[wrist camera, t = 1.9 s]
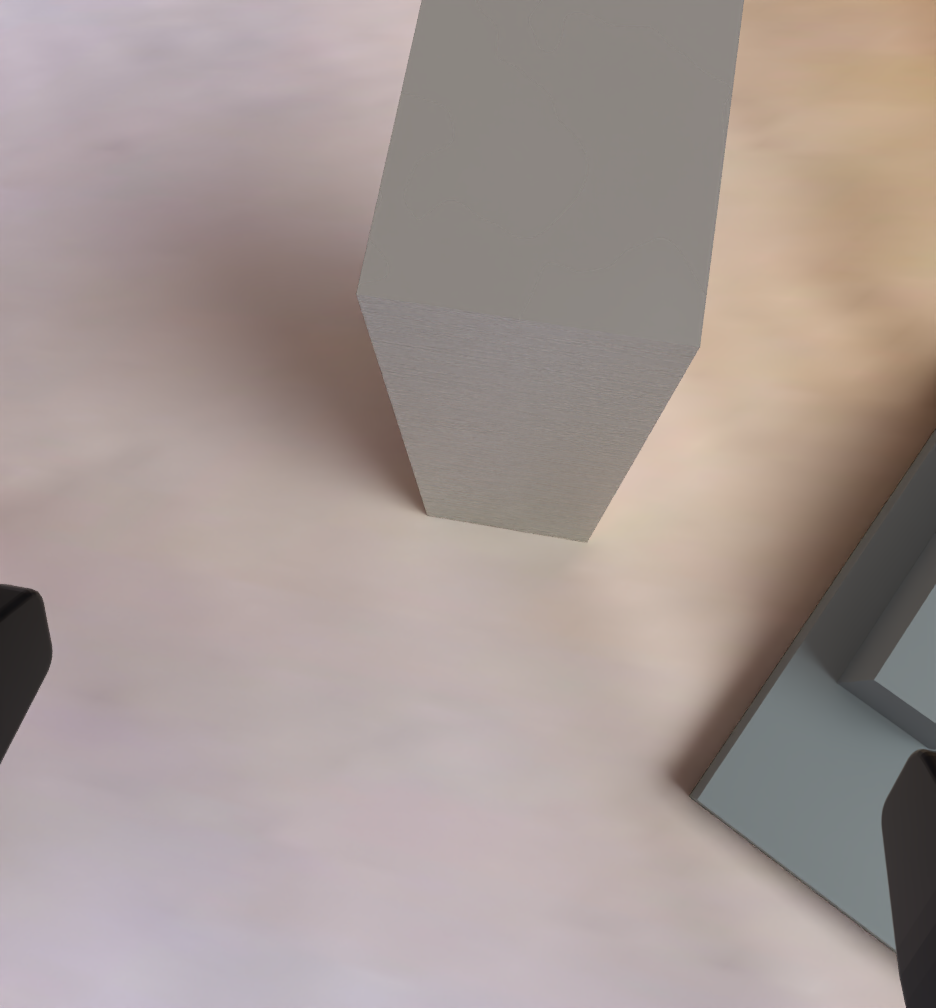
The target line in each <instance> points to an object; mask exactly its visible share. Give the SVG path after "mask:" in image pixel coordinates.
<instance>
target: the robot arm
mask: <svg viewBox="0 0 936 1008" xmlns="http://www.w3.org/2000/svg"><path fill="white" fill-rule="evenodd" d="M51 660H52V643H51V638H50V633H49V628H48V623H47V617H46V612H45V607H44V602H43V599H42V597H41V595H40V594H39V593H38V592H37V591H35V590H33V589H29V588H24V587H18V586H13V585H7V584H0V764H1V762H2V760H3V758H4V756H5V754H6V752H7V750H8V748H9V746H10V744H11V742H12V740H13V738H14V736H15V734H16V732H17V731H18V729H19V727H20V725H21V723H22V721H23V719H24V717H25V715H26V713H27V711H28V709H29V707H30V705H31V703H32V701H33V700H34V698H35V696H36V694H37V692H38V690H39V688H40V686H41V684H42V682H43V680H44V678H45V676H46V674H47V672H48V670H49V667H50V664H51ZM881 827H882V836H883V845H884V853H885V862H886V870H887V879H888V887H889V896H890V905H891V913H892V922H893V930H894V939H895V947H896V955H897V962H898V969H899V976H900V981H901V986H902V991H903V995H904V1000H905V1005H906V1008H936V751H933V750H927V749H919V750H916V751H914V752H913V753H912V754H911V755H910V756H909V758H908V759H907V761H906V763H905V765H904V767H903V769H902V770H901V772H900V774H899V776H898V778H897V780H896V781H895V783H894V785H893V787H892V789H891V791H890V793H889V794H888V796H887V798H886V800H885V803H884V806H883V809H882V816H881Z"/></svg>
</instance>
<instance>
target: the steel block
mask: <svg viewBox="0 0 936 1008" xmlns="http://www.w3.org/2000/svg"><path fill="white" fill-rule="evenodd" d="M743 4H744V0H422V2H421V6H420V10H419V15H418V19H417V24H416V28H415V33H414V37H413V42H412V46H411V51H410V55H409V60H408V64H407V69H406V73H405V78H404V82H403V87H402V91H401V96H400V100H399V105H398V109H397V114H396V118H395V122H394V127H393V131H392V136H391V140H390V145H389V149H388V154H387V158H386V163H385V167H384V172H383V176H382V181H381V185H380V190H379V194H378V199H377V203H376V208H375V212H374V217H373V221H372V226H371V230H370V234H369V239H368V243H367V248H366V252H365V257H364V261H363V266H362V270H361V275H360V279H359V284H358V288H357V293H356V295H357V298H358V301H359V305H360V308H361V311H362V314H363V317H364V320H365V323H366V326H367V329H368V333H369V336H370V339H371V342H372V345H373V348H374V351H375V354H376V357H377V361H378V364H379V367H380V370H381V373H382V376H383V379H384V382H385V385H386V388H387V392H388V395H389V398H390V401H391V404H392V407H393V410H394V413H395V416H396V420H397V423H398V426H399V429H400V432H401V435H402V438H403V441H404V444H405V448H406V451H407V454H408V457H409V460H410V463H411V466H412V469H413V472H414V475H415V479H416V482H417V485H418V488H419V491H420V494H421V497H422V500H423V503H424V507H425V510H426V513H427V516H433V517H439V518H445V519H451V520H457V521H463V522H469V523H475V524H481V525H487V526H492V527H498V528H504V529H510V530H516V531H522V532H528V533H534V534H540V535H546V536H552V537H558V538H564V539H570V540H575V541H581V542H588V540H589V538H590V537H591V535H592V533H593V531H594V530H595V528H596V526H597V524H598V523H599V521H600V519H601V517H602V516H603V514H604V512H605V511H606V509H607V507H608V505H609V504H610V502H611V500H612V498H613V497H614V495H615V493H616V491H617V490H618V488H619V486H620V485H621V483H622V481H623V479H624V478H625V476H626V474H627V472H628V471H629V469H630V467H631V465H632V464H633V462H634V460H635V459H636V457H637V455H638V453H639V452H640V450H641V448H642V446H643V445H644V443H645V441H646V439H647V438H648V436H649V434H650V433H651V431H652V429H653V427H654V426H655V424H656V422H657V420H658V419H659V417H660V415H661V413H662V412H663V410H664V408H665V407H666V405H667V403H668V401H669V400H670V398H671V396H672V394H673V393H674V391H675V389H676V387H677V386H678V384H679V382H680V381H681V379H682V377H683V375H684V374H685V372H686V370H687V368H688V367H689V365H690V363H691V361H692V360H693V358H694V356H695V355H696V353H697V351H698V349H699V348H700V342H701V334H702V326H703V318H704V310H705V303H706V295H707V287H708V279H709V271H710V263H711V255H712V248H713V240H714V232H715V224H716V216H717V208H718V200H719V192H720V185H721V177H722V169H723V161H724V153H725V145H726V137H727V129H728V122H729V114H730V106H731V98H732V90H733V82H734V74H735V67H736V59H737V51H738V43H739V35H740V27H741V19H742V11H743Z"/></svg>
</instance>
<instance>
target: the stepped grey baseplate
mask: <svg viewBox="0 0 936 1008" xmlns="http://www.w3.org/2000/svg"><path fill="white" fill-rule="evenodd" d="M919 749H927V750H933V751H936V429H935V431H934V432H933V434H932V435H931V437H930V438H929V440H928V441H927V443H926V444H925V446H924V447H923V449H922V450H921V452H920V453H919V455H918V456H917V458H916V459H915V460H914V462H913V463H912V465H911V466H910V468H909V469H908V471H907V472H906V474H905V475H904V477H903V478H902V480H901V481H900V483H899V484H898V486H897V487H896V489H895V490H894V492H893V493H892V495H891V496H890V498H889V499H888V501H887V502H886V504H885V505H884V507H883V508H882V510H881V511H880V513H879V514H878V516H877V517H876V519H875V520H874V522H873V523H872V525H871V526H870V528H869V529H868V531H867V532H866V534H865V535H864V537H863V538H862V540H861V541H860V543H859V544H858V545H857V547H856V548H855V550H854V551H853V553H852V554H851V556H850V557H849V559H848V560H847V562H846V563H845V565H844V566H843V568H842V569H841V571H840V572H839V574H838V575H837V577H836V578H835V580H834V581H833V583H832V584H831V586H830V587H829V589H828V590H827V592H826V593H825V595H824V596H823V598H822V599H821V601H820V602H819V604H818V605H817V607H816V608H815V610H814V611H813V613H812V614H811V616H810V617H809V619H808V620H807V622H806V623H805V625H804V626H803V627H802V629H801V630H800V632H799V633H798V635H797V636H796V638H795V639H794V641H793V642H792V644H791V645H790V647H789V648H788V650H787V651H786V653H785V654H784V656H783V657H782V659H781V660H780V662H779V663H778V665H777V666H776V668H775V669H774V671H773V672H772V674H771V675H770V677H769V678H768V680H767V681H766V683H765V684H764V686H763V687H762V689H761V690H760V692H759V693H758V695H757V696H756V698H755V699H754V701H753V702H752V704H751V705H750V707H749V708H748V709H747V711H746V712H745V714H744V715H743V717H742V718H741V720H740V721H739V723H738V724H737V726H736V727H735V729H734V730H733V732H732V733H731V735H730V736H729V738H728V739H727V741H726V742H725V744H724V745H723V747H722V748H721V750H720V751H719V753H718V754H717V756H716V757H715V759H714V760H713V762H712V763H711V765H710V766H709V768H708V769H707V771H706V772H705V774H704V775H703V777H702V778H701V780H700V781H699V783H698V784H697V786H696V787H695V789H694V790H693V792H692V793H691V794H690V796H689V797H691V798H692V799H693V800H695V801H696V802H697V803H698V804H700V805H701V806H702V807H704V808H705V809H706V810H708V811H709V812H710V813H712V814H713V815H714V816H716V817H717V818H718V819H720V820H721V821H722V822H724V823H725V824H726V825H728V826H729V827H730V828H731V829H733V830H734V831H735V832H737V833H738V834H739V835H741V836H742V837H743V838H745V839H746V840H747V841H749V842H750V843H751V844H753V845H754V846H755V847H757V848H758V849H759V850H761V851H762V852H763V853H764V854H766V855H767V856H768V857H770V858H771V859H772V860H774V861H775V862H776V863H778V864H779V865H780V866H782V867H783V868H784V869H786V870H787V871H788V872H790V873H791V874H792V875H793V876H795V877H796V878H797V879H799V880H800V881H801V882H803V883H804V884H805V885H807V886H808V887H809V888H811V889H812V890H813V891H815V892H816V893H817V894H819V895H820V896H821V897H823V898H824V899H825V900H826V901H828V902H829V903H830V904H832V905H833V906H834V907H836V908H837V909H838V910H840V911H841V912H842V913H844V914H845V915H846V916H848V917H849V918H850V919H852V920H853V921H854V922H856V923H857V924H858V925H859V926H861V927H862V928H863V929H865V930H866V931H867V932H869V933H870V934H871V935H873V936H874V937H875V938H877V939H878V940H879V941H881V942H882V943H883V944H885V945H886V946H887V947H889V948H890V949H891V950H892V951H894V952H895V953H896V947H895V939H894V930H893V922H892V913H891V905H890V896H889V887H888V879H887V870H886V862H885V853H884V845H883V836H882V827H881V816H882V809H883V806H884V803H885V800H886V798H887V796H888V794H889V793H890V791H891V789H892V787H893V785H894V783H895V781H896V780H897V778H898V776H899V774H900V772H901V770H902V769H903V767H904V765H905V763H906V761H907V759H908V758H909V756H910V755H911V754H912V753H913V752H914V751H916V750H919Z"/></svg>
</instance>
